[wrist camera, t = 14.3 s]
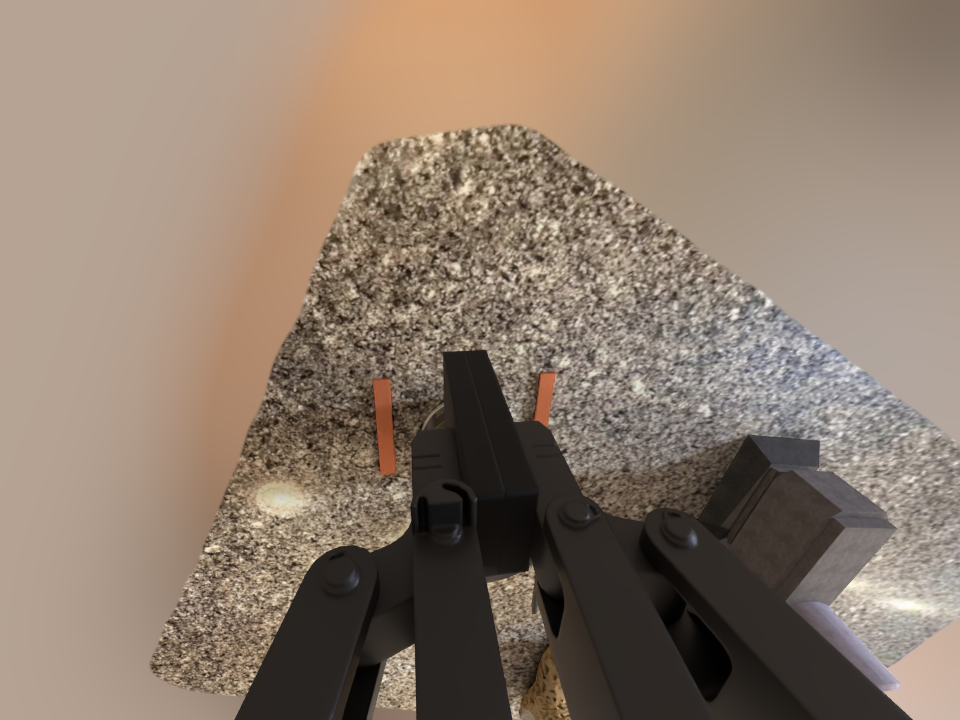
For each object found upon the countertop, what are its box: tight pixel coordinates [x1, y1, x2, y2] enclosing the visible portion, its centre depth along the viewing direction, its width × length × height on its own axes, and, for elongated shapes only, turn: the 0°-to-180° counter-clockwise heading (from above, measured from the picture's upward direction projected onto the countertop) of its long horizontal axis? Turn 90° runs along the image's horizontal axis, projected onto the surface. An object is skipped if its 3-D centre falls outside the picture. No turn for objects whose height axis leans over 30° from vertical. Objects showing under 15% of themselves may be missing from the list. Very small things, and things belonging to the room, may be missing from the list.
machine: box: [698, 435, 899, 694], centre depth 49 cm, size 30×16×24 cm, turn 168°
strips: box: [373, 372, 555, 475], centre depth 44 cm, size 12×19×1 cm, turn 87°
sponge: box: [519, 646, 571, 720], centre depth 67 cm, size 13×8×20 cm
